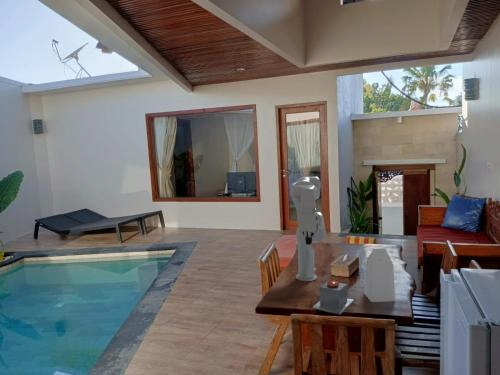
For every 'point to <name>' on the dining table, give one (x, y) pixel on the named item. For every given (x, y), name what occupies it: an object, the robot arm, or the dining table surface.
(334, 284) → the pin
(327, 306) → the receiver
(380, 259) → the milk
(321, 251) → the dining table surface
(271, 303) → the dining table surface
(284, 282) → the dining table surface
